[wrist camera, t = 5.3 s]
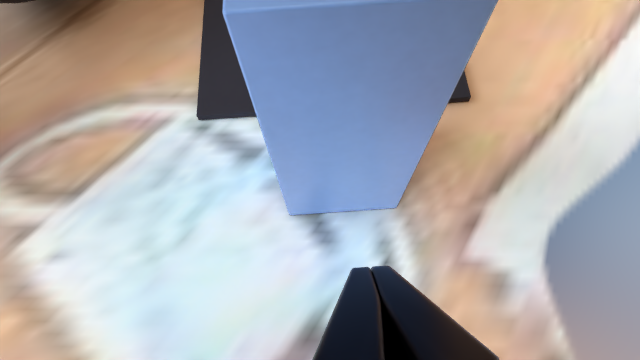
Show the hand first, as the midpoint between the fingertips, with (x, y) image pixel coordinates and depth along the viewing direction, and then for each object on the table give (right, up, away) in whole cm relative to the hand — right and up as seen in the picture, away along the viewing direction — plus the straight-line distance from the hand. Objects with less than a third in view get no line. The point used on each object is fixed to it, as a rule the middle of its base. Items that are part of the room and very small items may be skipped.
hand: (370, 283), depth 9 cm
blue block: (0, +3, +10) cm, 10 cm away
